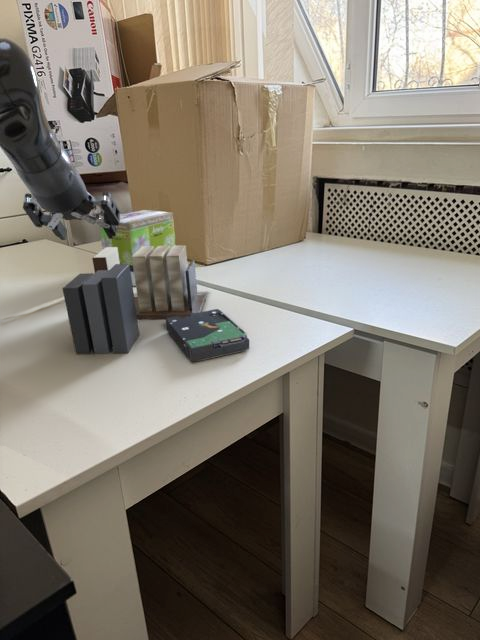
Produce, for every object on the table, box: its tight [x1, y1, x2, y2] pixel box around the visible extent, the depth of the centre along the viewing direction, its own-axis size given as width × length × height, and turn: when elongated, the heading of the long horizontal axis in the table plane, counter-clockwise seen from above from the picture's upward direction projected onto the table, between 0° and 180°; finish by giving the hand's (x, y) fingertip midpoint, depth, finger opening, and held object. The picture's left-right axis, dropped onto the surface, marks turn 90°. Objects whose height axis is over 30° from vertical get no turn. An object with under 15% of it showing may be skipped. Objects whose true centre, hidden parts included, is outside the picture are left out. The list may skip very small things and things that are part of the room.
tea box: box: [98, 209, 176, 287], centre depth 121 cm, size 15×10×15 cm, turn 148°
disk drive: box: [165, 308, 250, 362], centre depth 87 cm, size 10×3×15 cm
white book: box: [91, 247, 120, 273], centre depth 100 cm, size 8×2×11 cm, turn 179°
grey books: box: [62, 264, 140, 355], centre depth 85 cm, size 8×9×13 cm
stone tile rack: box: [132, 244, 207, 321], centre depth 100 cm, size 22×11×12 cm, turn 89°
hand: (88, 235), depth 90 cm, fingers open, 8 cm apart
